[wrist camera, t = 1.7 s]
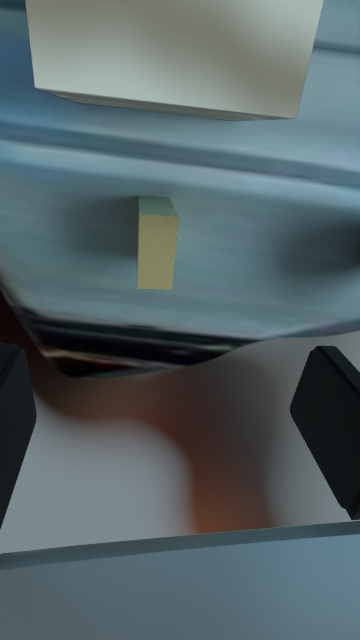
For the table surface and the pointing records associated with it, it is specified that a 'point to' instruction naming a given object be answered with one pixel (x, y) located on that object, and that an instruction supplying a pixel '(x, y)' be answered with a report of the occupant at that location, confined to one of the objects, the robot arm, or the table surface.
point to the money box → (176, 54)
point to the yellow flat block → (156, 242)
